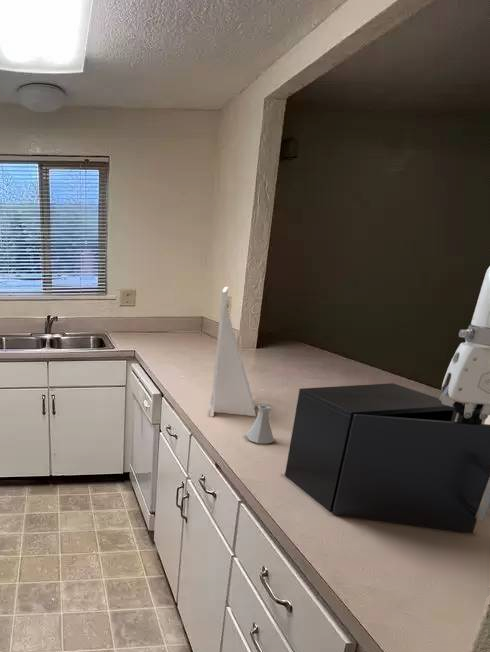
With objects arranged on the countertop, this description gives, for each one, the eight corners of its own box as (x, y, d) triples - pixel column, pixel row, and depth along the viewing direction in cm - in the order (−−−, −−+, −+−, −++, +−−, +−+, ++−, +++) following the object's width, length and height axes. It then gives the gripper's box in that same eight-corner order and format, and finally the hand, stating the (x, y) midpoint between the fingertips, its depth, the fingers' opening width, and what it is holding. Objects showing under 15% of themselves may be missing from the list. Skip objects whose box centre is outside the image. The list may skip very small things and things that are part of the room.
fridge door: (488, 550, 78) (530, 439, 70) (339, 529, 84) (363, 425, 77) (469, 530, 83) (506, 425, 76) (332, 511, 90) (353, 413, 82)
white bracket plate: (256, 421, 139) (273, 292, 125) (210, 416, 143) (222, 291, 130) (254, 402, 157) (270, 287, 143) (213, 398, 161) (224, 286, 147)
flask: (256, 445, 121) (261, 412, 118) (241, 435, 128) (245, 403, 124) (278, 443, 123) (284, 410, 119) (263, 433, 129) (267, 401, 126)
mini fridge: (430, 501, 94) (459, 405, 86) (329, 511, 90) (351, 412, 82) (372, 467, 108) (393, 383, 101) (284, 475, 105) (299, 388, 97)
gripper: (454, 339, 72) (426, 440, 78) (566, 343, 68) (527, 449, 75) (434, 332, 79) (409, 425, 85) (535, 335, 75) (501, 433, 81)
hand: (464, 436), depth 80 cm, fingers closed
